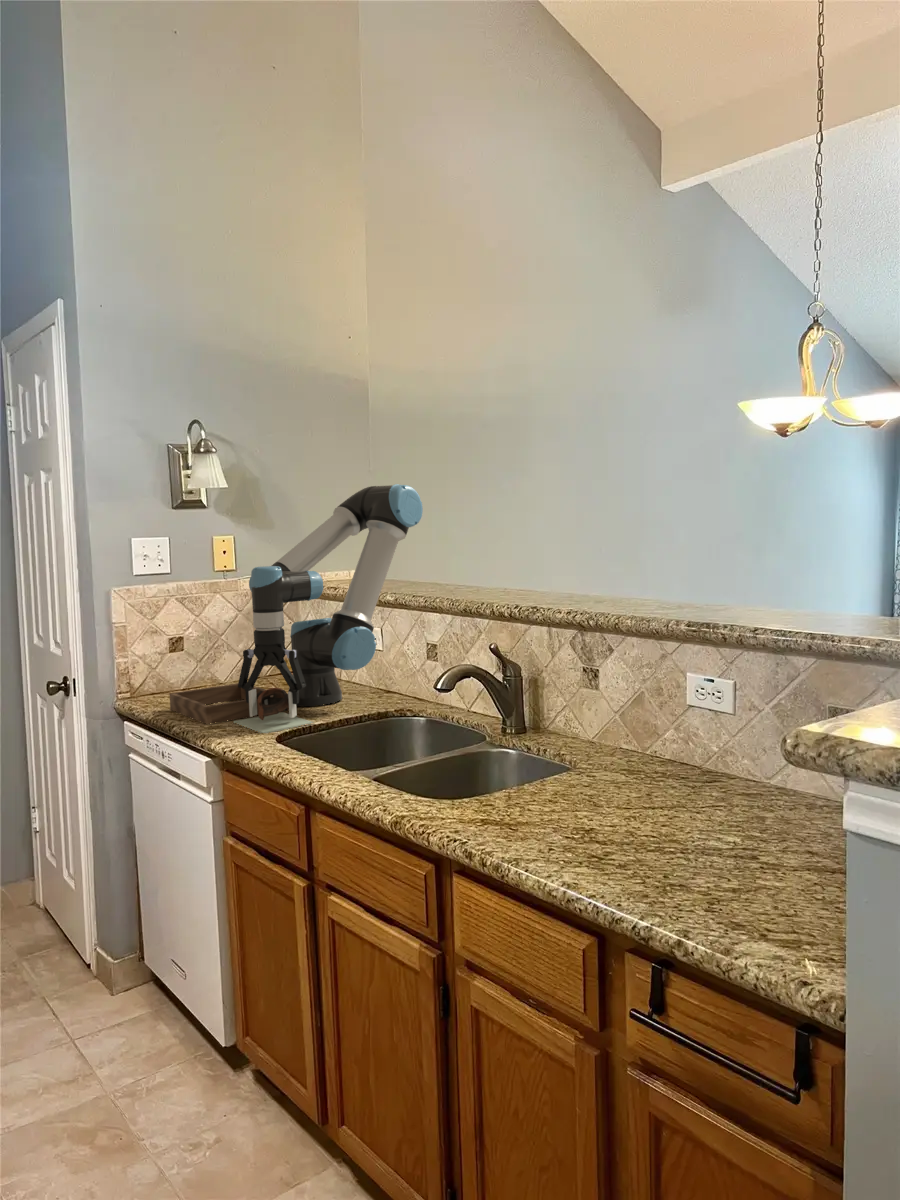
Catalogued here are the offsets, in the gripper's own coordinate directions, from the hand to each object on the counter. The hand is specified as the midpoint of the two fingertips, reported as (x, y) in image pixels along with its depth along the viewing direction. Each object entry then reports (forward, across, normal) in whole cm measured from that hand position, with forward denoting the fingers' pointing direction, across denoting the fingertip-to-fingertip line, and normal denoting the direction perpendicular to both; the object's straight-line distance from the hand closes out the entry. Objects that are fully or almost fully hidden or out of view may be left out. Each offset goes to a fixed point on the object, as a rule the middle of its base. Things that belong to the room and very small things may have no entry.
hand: (273, 716), depth 226 cm
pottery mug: (+1, 0, -1) cm, 1 cm away
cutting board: (+2, 0, 0) cm, 2 cm away
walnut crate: (+2, +20, -12) cm, 23 cm away
